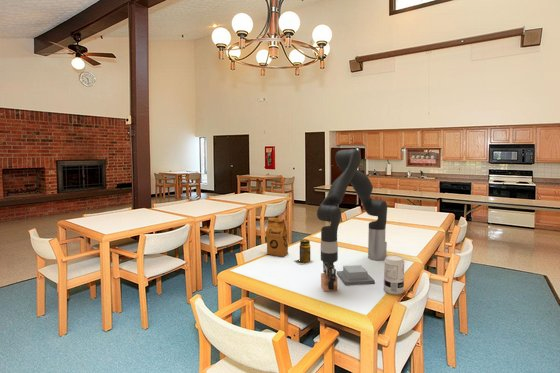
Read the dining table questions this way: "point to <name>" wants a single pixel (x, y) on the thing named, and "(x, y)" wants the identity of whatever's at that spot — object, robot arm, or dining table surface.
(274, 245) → the coffee package
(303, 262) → the condiment
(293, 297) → the dining table surface
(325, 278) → the cube
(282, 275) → the dining table surface
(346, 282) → the base
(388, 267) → the supplement can
